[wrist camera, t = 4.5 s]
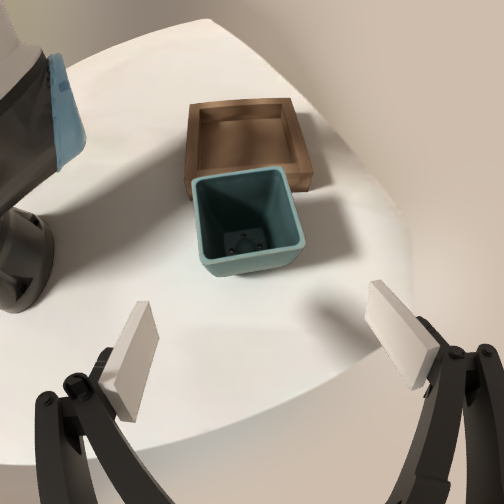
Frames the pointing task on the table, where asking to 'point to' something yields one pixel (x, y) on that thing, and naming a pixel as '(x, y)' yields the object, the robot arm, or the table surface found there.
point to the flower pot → (246, 221)
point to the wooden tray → (246, 140)
